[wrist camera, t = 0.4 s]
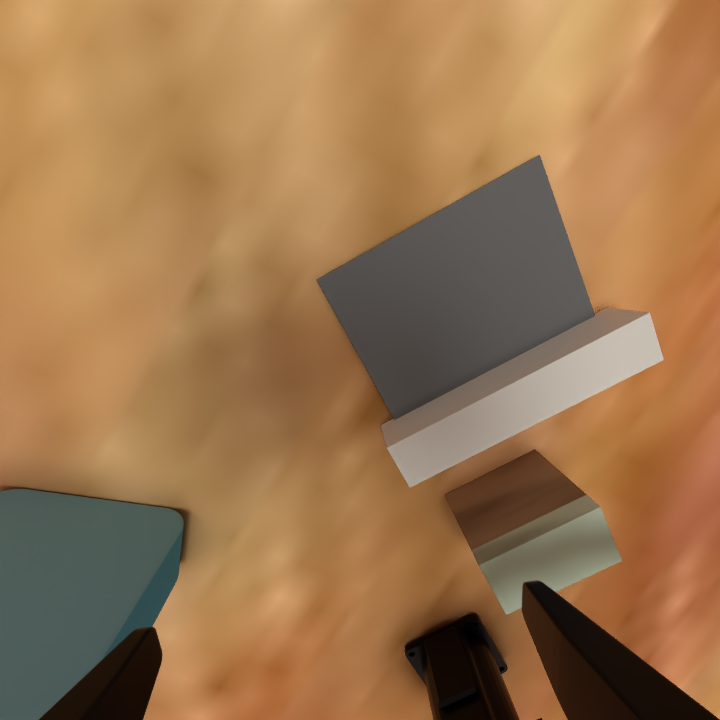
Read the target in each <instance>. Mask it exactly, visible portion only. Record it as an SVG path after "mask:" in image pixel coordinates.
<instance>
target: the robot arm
mask: <svg viewBox="0 0 720 720" xmlns="http://www.w3.org/2000/svg"><path fill="white" fill-rule="evenodd" d="M522 613H523V617H524V620H525V622H526V625H527V627H528V629H529V632H530V634H531V637H532V639H533V641H534V644H535V646H536V649H537V651H538V653H539V656H540V658H541V661H542V663H543V666H544V668H545V670H546V673H547V675H548V678H549V680H550V682H551V685H552V687H553V689H554V692H555V694H556V696H557V699H558V701H559V703H560V705H561V707H562V709H563V711H564V713H565V715H566V717H567V719H568V720H720V719H718V718H717V717H716V716H714V715H713V714H712V713H711V712H709V711H708V710H707V709H705V708H704V707H703V706H702V705H700V704H699V703H698V702H696V701H695V700H694V699H693V698H691V697H690V696H689V695H687V694H686V693H685V692H684V691H682V690H681V689H680V688H678V687H677V686H676V685H674V684H673V683H672V682H671V681H669V680H668V679H667V678H665V677H664V676H663V675H662V674H660V673H659V672H658V671H656V670H655V669H654V668H653V667H651V666H650V665H649V664H647V663H646V662H645V661H644V660H642V659H641V658H640V657H638V656H637V655H636V654H635V653H633V652H632V651H631V650H629V649H628V648H627V647H626V646H624V645H623V644H622V643H620V642H619V641H618V640H617V639H615V638H614V637H613V636H611V635H610V634H609V633H608V632H606V631H605V630H604V629H602V628H601V627H600V626H599V625H597V624H596V623H595V622H593V621H592V620H591V619H589V618H588V617H587V616H586V615H584V614H583V613H582V612H580V611H579V610H578V609H577V608H575V607H574V606H573V605H571V604H570V603H569V602H568V601H566V600H565V599H564V598H562V597H561V596H560V595H559V594H557V593H556V592H555V591H553V590H552V589H551V588H550V587H548V586H547V585H546V584H544V583H543V582H541V581H539V580H535V581H527V582H524V583H523V586H522ZM405 654H406V657H407V659H408V660H409V661H410V663H411V664H412V666H413V667H414V669H415V670H416V672H417V673H418V674H419V676H420V677H421V679H422V680H423V682H424V683H425V684H426V687H427V692H428V696H429V701H430V706H431V710H432V715H433V720H520V719H519V717H518V715H517V712H516V710H515V707H514V705H513V702H512V700H511V697H510V695H509V692H508V690H507V688H506V685H505V683H504V680H503V678H502V675H501V674H502V673H504V672H506V671H507V665H506V663H505V661H504V659H503V657H502V655H501V654H500V652H499V650H498V649H497V647H496V645H495V643H494V642H493V640H492V638H491V637H490V635H489V633H488V632H487V630H486V628H485V626H484V625H483V623H482V621H481V620H480V618H479V616H478V615H470V616H468V617H466V618H464V619H462V620H460V621H458V622H455V623H453V624H451V625H449V626H447V627H445V628H443V629H441V630H438V631H436V632H434V633H432V634H430V635H428V636H426V637H424V638H421V639H419V640H417V641H415V642H413V643H411V644H409V645H407V646H406V647H405ZM161 661H162V649H161V646H160V642H159V639H158V635H157V632H156V629H155V628H154V627H143V628H137V629H135V630H133V631H132V632H131V633H130V634H129V635H128V636H127V637H126V638H125V639H123V640H122V641H121V642H120V643H119V644H118V645H117V646H116V647H115V648H114V649H113V650H112V651H111V652H110V653H109V654H108V655H106V656H105V657H104V658H103V659H102V660H101V661H100V662H99V663H98V664H97V665H96V666H95V667H94V668H93V669H92V670H91V671H90V672H88V673H87V674H86V675H85V676H84V677H83V678H82V679H81V680H80V681H79V682H78V683H77V684H76V685H75V686H74V687H73V688H71V689H70V690H69V691H68V692H67V693H66V694H65V695H64V696H63V697H62V698H61V699H60V700H59V701H58V702H57V703H56V704H54V705H53V706H52V707H51V708H50V709H49V710H48V711H47V712H46V713H45V714H44V715H43V716H42V717H41V718H40V719H39V720H143V718H144V715H145V712H146V709H147V706H148V703H149V700H150V696H151V693H152V690H153V687H154V684H155V681H156V678H157V675H158V672H159V669H160V666H161ZM537 720H542V718H540V719H537Z"/></svg>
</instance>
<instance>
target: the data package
mask: <svg viewBox="0 0 720 720" xmlns="http://www.w3.org/2000/svg"><path fill="white" fill-rule="evenodd" d="M183 527H184V521H183V518H182V516H181V515H180V514H179V513H178V512H177V511H175V510H173V509H169V508H163V507H156V506H148V505H141V504H134V503H126V502H119V501H111V500H104V499H96V498H89V497H82V496H74V495H67V494H59V493H52V492H45V491H37V490H30V489H10V490H4V491H0V720H39V719H40V718H41V717H42V716H43V715H44V714H45V713H46V712H47V711H48V710H49V709H50V708H51V707H52V706H53V705H54V704H56V703H57V702H58V701H59V700H60V699H61V698H62V697H63V696H64V695H65V694H66V693H67V692H68V691H69V690H70V689H71V688H73V687H74V686H75V685H76V684H77V683H78V682H79V681H80V680H81V679H82V678H83V677H84V676H85V675H86V674H87V673H88V672H90V671H91V670H92V669H93V668H94V667H95V666H96V665H97V664H98V663H99V662H100V661H101V660H102V659H103V658H104V657H105V656H106V655H108V654H109V653H110V652H111V651H112V650H113V649H114V648H115V647H116V646H117V645H118V644H119V643H120V642H121V641H122V640H123V639H125V638H126V637H127V636H128V635H129V634H130V633H131V632H132V631H133V630H135V629H137V628H143V627H152V626H153V624H154V622H155V620H156V619H157V617H158V615H159V613H160V611H161V609H162V607H163V605H164V604H165V602H166V600H167V598H168V596H169V594H170V592H171V590H172V589H173V587H174V585H175V583H176V581H177V578H178V574H179V564H180V555H181V546H182V536H183Z"/></svg>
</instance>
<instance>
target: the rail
mask: <svg viewBox="0 0 720 720" xmlns="http://www.w3.org/2000/svg"><path fill="white" fill-rule="evenodd" d="M662 360H664V359H663V356H662V352H661V349H660V346H659V342H658V339H657V336H656V332H655V329H654V326H653V322H652V319H651V316H650V313H649V312H640V311H632V310H623V309H614V308H604V309H603V310H601V311H599V312H597V313H595V316H594V317H592V318H590V319H588V320H586V321H584V322H582V323H580V324H578V325H576V326H575V327H573V328H571V329H569V330H567V331H565V332H563V333H561V334H559V335H557V336H555V337H553V338H551V339H550V340H548V341H546V342H544V343H542V344H540V345H538V346H536V347H534V348H532V349H530V350H528V351H527V352H525V353H523V354H521V355H519V356H517V357H515V358H513V359H511V360H509V361H507V362H505V363H503V364H502V365H500V366H498V367H496V368H494V369H492V370H490V371H488V372H486V373H484V374H482V375H480V376H478V377H477V378H475V379H473V380H471V381H469V382H467V383H465V384H463V385H461V386H459V387H457V388H455V389H454V390H452V391H450V392H448V393H446V394H444V395H442V396H440V397H438V398H436V399H434V400H432V401H430V402H429V403H427V404H425V405H423V406H421V407H419V408H417V409H415V410H413V411H411V412H409V413H407V414H405V415H404V416H402V417H400V418H398V419H396V420H394V418H393V419H391V420H390V421H388V422H386V423H384V424H382V425H380V426H381V429H382V433H383V436H384V440H385V444H386V447H387V449H388V451H389V453H390V455H391V456H392V458H393V460H394V461H395V463H396V465H397V467H398V468H399V470H400V472H401V474H402V475H403V477H404V479H405V480H406V482H407V484H408V486H409V487H412V486H414V485H416V484H418V483H420V482H422V481H424V480H426V479H428V478H430V477H432V476H434V475H436V474H438V473H440V472H442V471H444V470H446V469H448V468H450V467H452V466H454V465H456V464H458V463H460V462H462V461H464V460H466V459H468V458H470V457H472V456H474V455H476V454H478V453H480V452H482V451H484V450H486V449H488V448H490V447H492V446H494V445H496V444H498V443H500V442H502V441H504V440H506V439H508V438H510V437H512V436H514V435H516V434H518V433H520V432H522V431H524V430H526V429H527V428H529V427H531V426H533V425H535V424H537V423H539V422H541V421H543V420H545V419H547V418H549V417H551V416H553V415H555V414H557V413H559V412H561V411H563V410H565V409H567V408H569V407H571V406H573V405H575V404H577V403H579V402H581V401H583V400H585V399H587V398H589V397H591V396H593V395H595V394H597V393H599V392H601V391H603V390H605V389H607V388H609V387H611V386H613V385H615V384H617V383H619V382H621V381H623V380H625V379H627V378H629V377H631V376H633V375H635V374H637V373H639V372H641V371H643V370H644V369H646V368H648V367H650V366H652V365H654V364H656V363H658V362H660V361H662Z"/></svg>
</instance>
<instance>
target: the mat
mask: <svg viewBox="0 0 720 720" xmlns="http://www.w3.org/2000/svg"><path fill="white" fill-rule="evenodd" d="M317 282H318V284H319V285H320V287H321V289H322V291H323V292H324V294H325V296H326V298H327V300H328V301H329V303H330V305H331V307H332V309H333V310H334V312H335V314H336V316H337V318H338V319H339V321H340V323H341V325H342V327H343V328H344V330H345V332H346V334H347V336H348V337H349V339H350V341H351V343H352V345H353V346H354V348H355V350H356V352H357V353H358V355H359V357H360V359H361V361H362V362H363V364H364V366H365V368H366V370H367V371H368V373H369V375H370V377H371V379H372V380H373V382H374V384H375V386H376V388H377V389H378V391H379V393H380V395H381V397H382V398H383V400H384V402H385V404H386V406H387V407H388V409H389V411H390V413H391V414H392V416H393V418H394V420H396V419H398V418H400V417H402V416H404V415H405V414H407V413H409V412H411V411H413V410H415V409H417V408H419V407H421V406H423V405H425V404H427V403H429V402H430V401H432V400H434V399H436V398H438V397H440V396H442V395H444V394H446V393H448V392H450V391H452V390H454V389H455V388H457V387H459V386H461V385H463V384H465V383H467V382H469V381H471V380H473V379H475V378H477V377H478V376H480V375H482V374H484V373H486V372H488V371H490V370H492V369H494V368H496V367H498V366H500V365H502V364H503V363H505V362H507V361H509V360H511V359H513V358H515V357H517V356H519V355H521V354H523V353H525V352H527V351H528V350H530V349H532V348H534V347H536V346H538V345H540V344H542V343H544V342H546V341H548V340H550V339H551V338H553V337H555V336H557V335H559V334H561V333H563V332H565V331H567V330H569V329H571V328H573V327H575V326H576V325H578V324H580V323H582V322H584V321H586V320H588V319H590V318H592V317H594V316H595V314H594V311H593V308H592V306H591V303H590V300H589V297H588V294H587V291H586V288H585V285H584V282H583V279H582V276H581V274H580V271H579V268H578V265H577V262H576V259H575V256H574V253H573V250H572V247H571V245H570V242H569V239H568V236H567V233H566V230H565V227H564V224H563V221H562V218H561V215H560V213H559V210H558V207H557V204H556V201H555V198H554V195H553V192H552V189H551V186H550V183H549V181H548V178H547V175H546V172H545V169H544V166H543V163H542V160H541V157H540V155H538V156H537V157H535V158H533V159H531V160H529V161H528V162H526V163H524V164H522V165H521V166H519V167H517V168H515V169H513V170H512V171H510V172H508V173H506V174H505V175H503V176H501V177H499V178H497V179H496V180H494V181H492V182H490V183H488V184H487V185H485V186H483V187H481V188H480V189H478V190H476V191H474V192H472V193H471V194H469V195H467V196H465V197H463V198H462V199H460V200H458V201H456V202H455V203H453V204H451V205H449V206H447V207H446V208H444V209H442V210H440V211H439V212H437V213H435V214H433V215H431V216H430V217H428V218H426V219H424V220H422V221H421V222H419V223H417V224H415V225H414V226H412V227H410V228H408V229H406V230H405V231H403V232H401V233H399V234H397V235H396V236H394V237H392V238H390V239H389V240H387V241H385V242H383V243H381V244H380V245H378V246H376V247H374V248H373V249H371V250H369V251H367V252H365V253H364V254H362V255H360V256H358V257H356V258H355V259H353V260H351V261H349V262H348V263H346V264H344V265H342V266H340V267H339V268H337V269H335V270H333V271H331V272H330V273H328V274H326V275H324V276H323V277H321V278H319V279H317Z"/></svg>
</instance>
